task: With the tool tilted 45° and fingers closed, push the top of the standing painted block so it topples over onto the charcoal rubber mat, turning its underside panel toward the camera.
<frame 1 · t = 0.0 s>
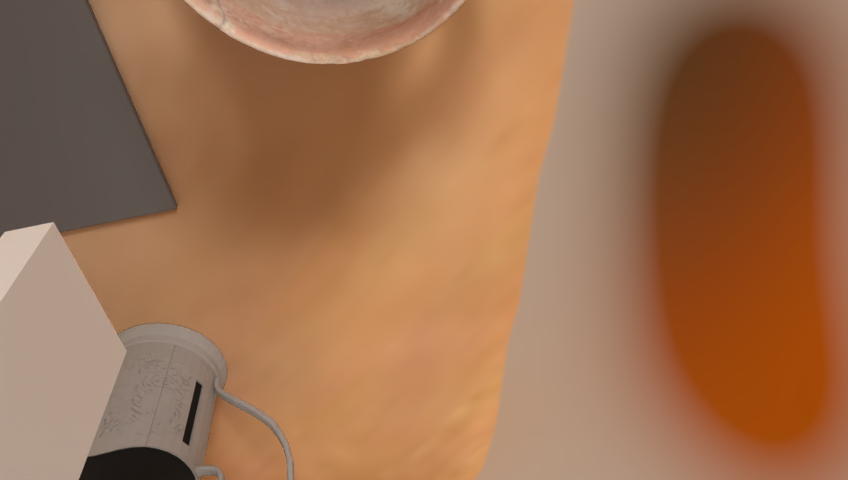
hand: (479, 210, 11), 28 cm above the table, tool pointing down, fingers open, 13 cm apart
tall grey mug: (203, 362, 49), on the table
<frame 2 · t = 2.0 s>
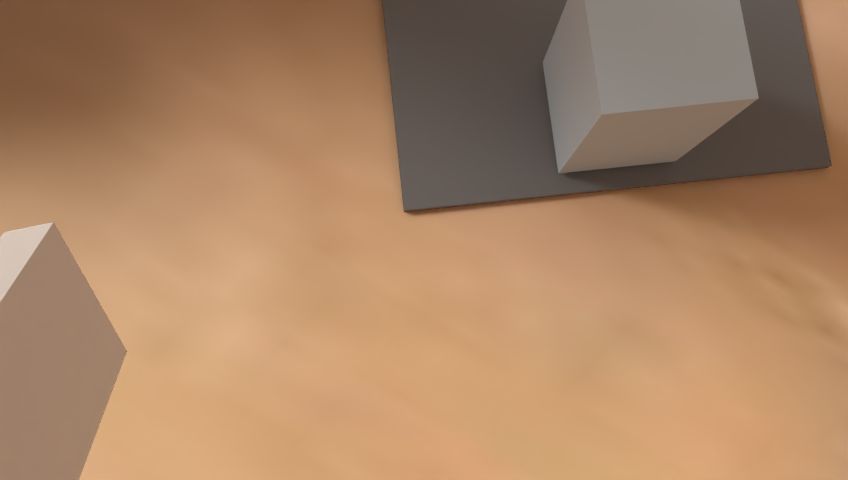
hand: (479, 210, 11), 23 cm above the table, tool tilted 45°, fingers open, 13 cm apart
mat: (590, 27, 36), on the table
block: (606, 113, 35), resting on mat
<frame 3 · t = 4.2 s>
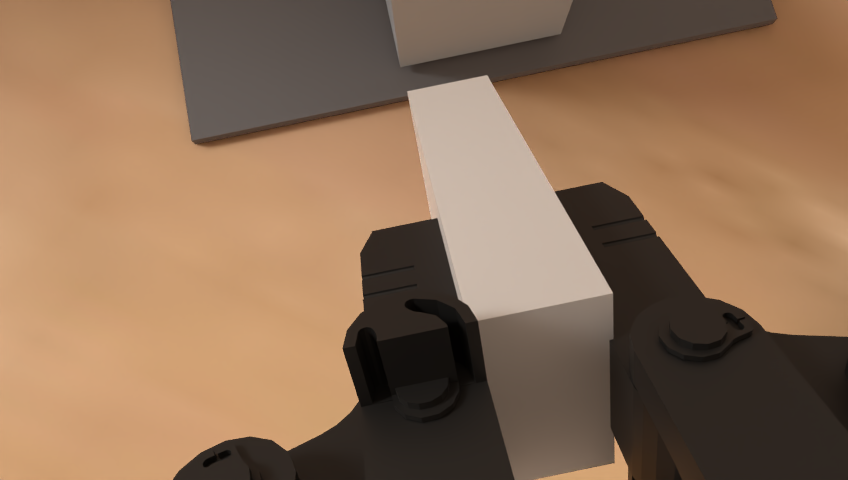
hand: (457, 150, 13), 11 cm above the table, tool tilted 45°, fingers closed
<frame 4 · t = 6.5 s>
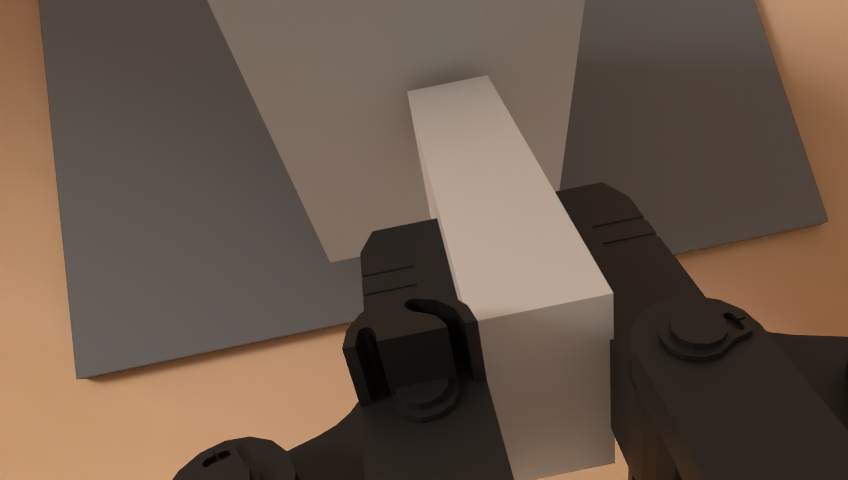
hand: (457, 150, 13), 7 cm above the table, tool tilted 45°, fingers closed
mat: (394, 25, 21), on the table
block: (423, 156, 19), point 1 cm above the table, tilted 19°, touching gripper, mat
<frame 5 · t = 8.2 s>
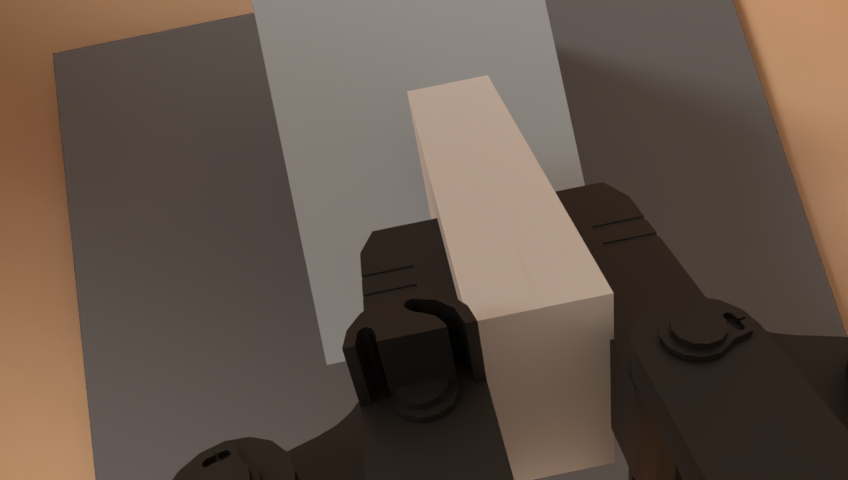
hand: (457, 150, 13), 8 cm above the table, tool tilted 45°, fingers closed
mat: (439, 250, 21), on the table
block: (462, 332, 17), point 3 cm above the table, tilted 79°, touching gripper, mat
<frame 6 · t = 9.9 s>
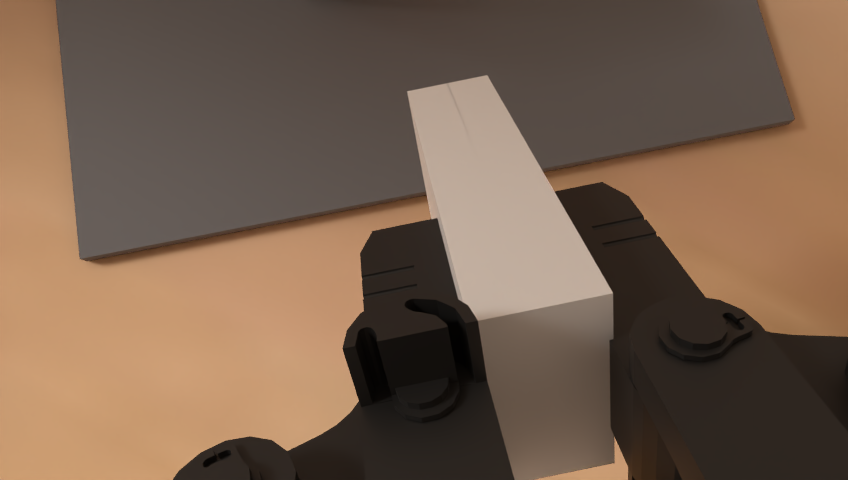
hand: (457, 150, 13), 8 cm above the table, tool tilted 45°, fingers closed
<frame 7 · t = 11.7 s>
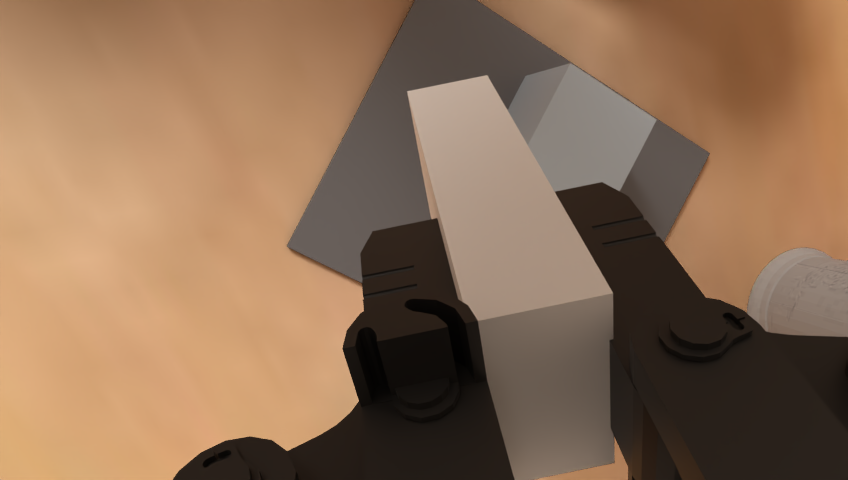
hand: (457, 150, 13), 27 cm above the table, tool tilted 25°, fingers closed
mat: (511, 196, 42), on the table
block: (516, 234, 39), point 3 cm above the table, tilted 90°, touching mat
tall grey mug: (815, 274, 49), on the table
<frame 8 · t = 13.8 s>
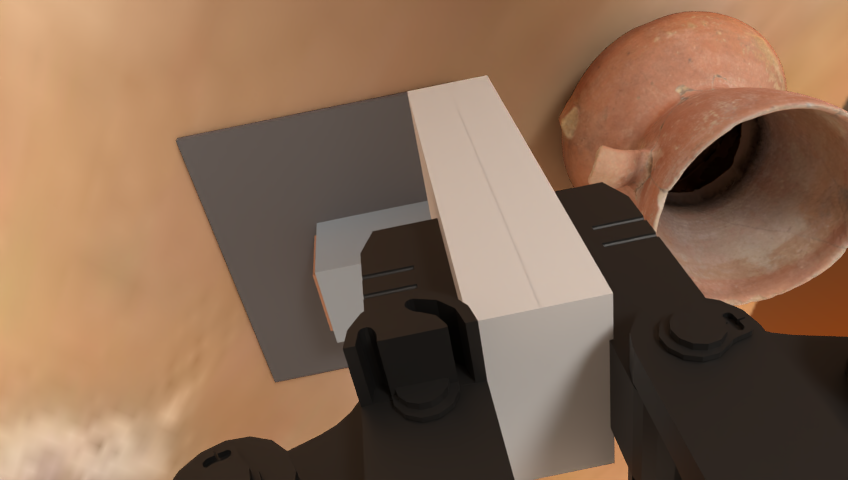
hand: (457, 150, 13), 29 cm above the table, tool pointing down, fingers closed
mat: (353, 248, 49), on the table
block: (322, 282, 46), point 3 cm above the table, tilted 90°, touching mat
ceramic jug: (661, 109, 46), on the table
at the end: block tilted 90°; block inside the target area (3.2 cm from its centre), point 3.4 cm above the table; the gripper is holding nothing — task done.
